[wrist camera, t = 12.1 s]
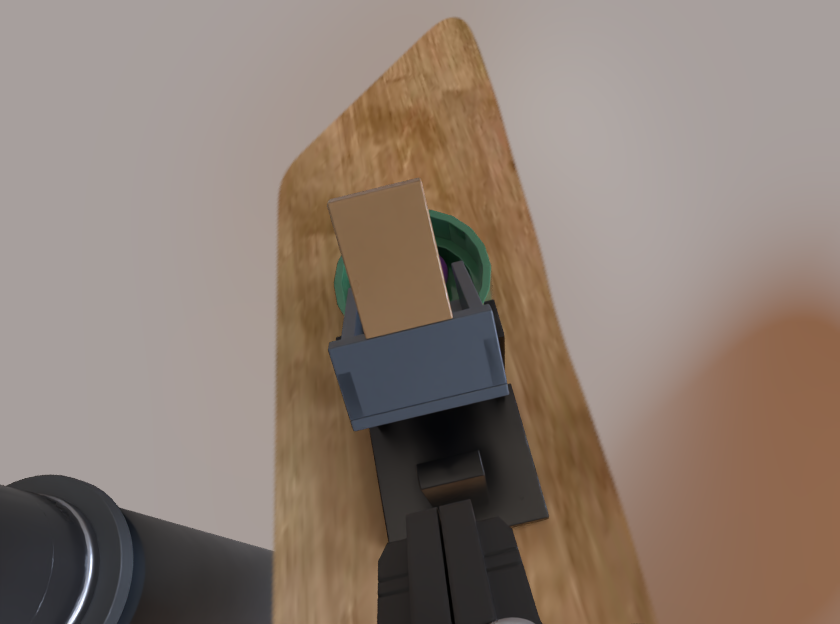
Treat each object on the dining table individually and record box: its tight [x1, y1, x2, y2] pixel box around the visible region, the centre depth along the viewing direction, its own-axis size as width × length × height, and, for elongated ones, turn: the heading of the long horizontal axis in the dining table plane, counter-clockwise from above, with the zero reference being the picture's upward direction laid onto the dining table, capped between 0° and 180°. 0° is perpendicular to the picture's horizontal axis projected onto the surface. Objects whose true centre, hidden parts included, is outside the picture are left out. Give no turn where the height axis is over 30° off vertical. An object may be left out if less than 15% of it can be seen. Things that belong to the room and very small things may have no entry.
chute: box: [327, 178, 509, 431], centre depth 27 cm, size 10×6×8 cm
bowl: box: [334, 210, 493, 316], centre depth 40 cm, size 9×9×5 cm
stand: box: [336, 300, 549, 542], centre depth 33 cm, size 9×9×10 cm
